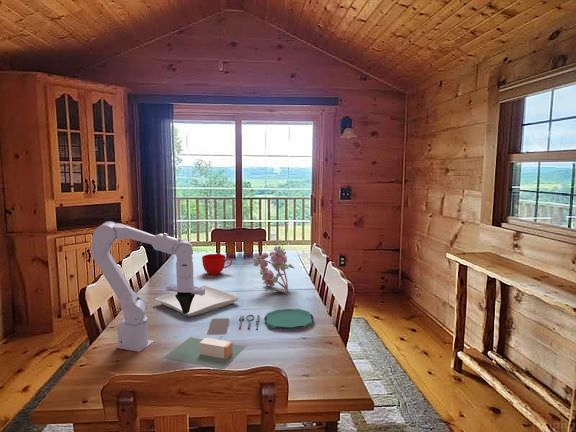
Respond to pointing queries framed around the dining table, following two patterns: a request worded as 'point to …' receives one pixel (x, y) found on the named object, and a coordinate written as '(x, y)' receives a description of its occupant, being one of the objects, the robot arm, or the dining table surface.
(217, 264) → the ceramic cup
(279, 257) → the flower
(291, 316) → the cutlery set
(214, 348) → the cream block
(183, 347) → the green mat
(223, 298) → the square plate
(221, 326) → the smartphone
